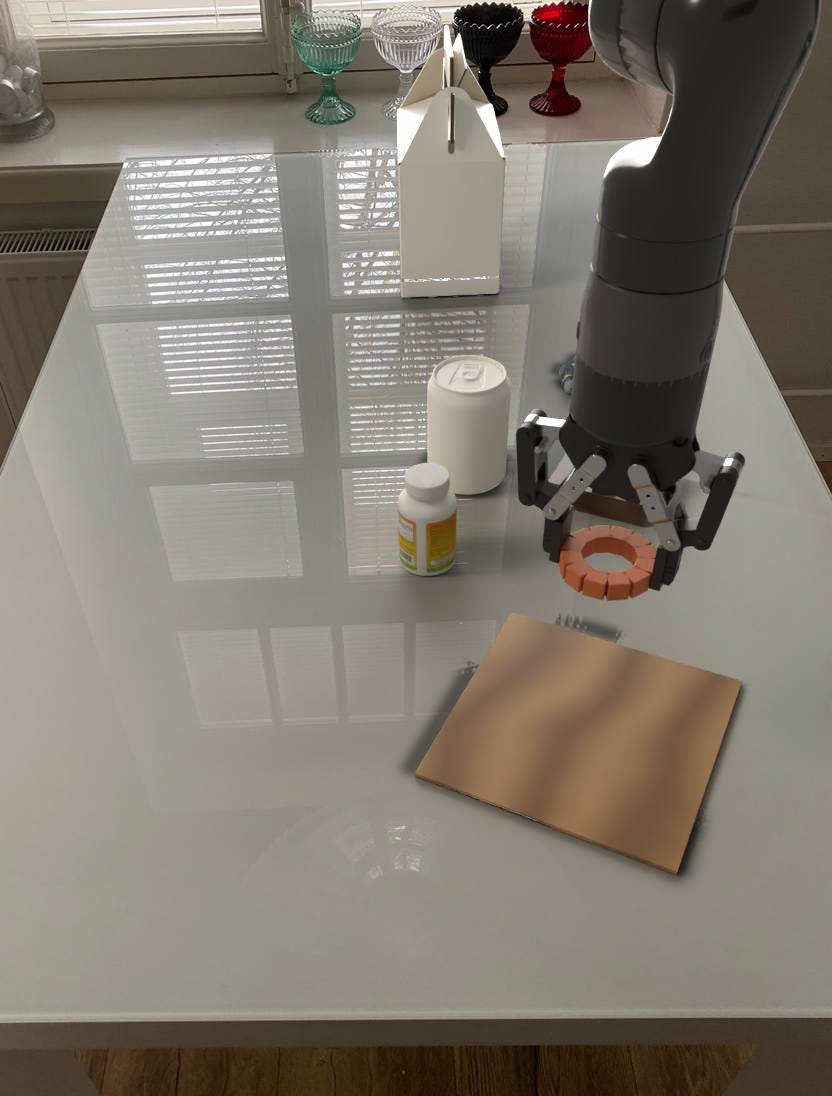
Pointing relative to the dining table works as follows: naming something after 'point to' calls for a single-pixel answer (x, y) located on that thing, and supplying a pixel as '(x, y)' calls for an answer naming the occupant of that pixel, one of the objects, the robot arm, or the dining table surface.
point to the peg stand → (600, 500)
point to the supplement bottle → (427, 520)
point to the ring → (601, 581)
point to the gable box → (449, 180)
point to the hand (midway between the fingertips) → (606, 568)
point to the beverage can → (469, 422)
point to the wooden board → (587, 738)
